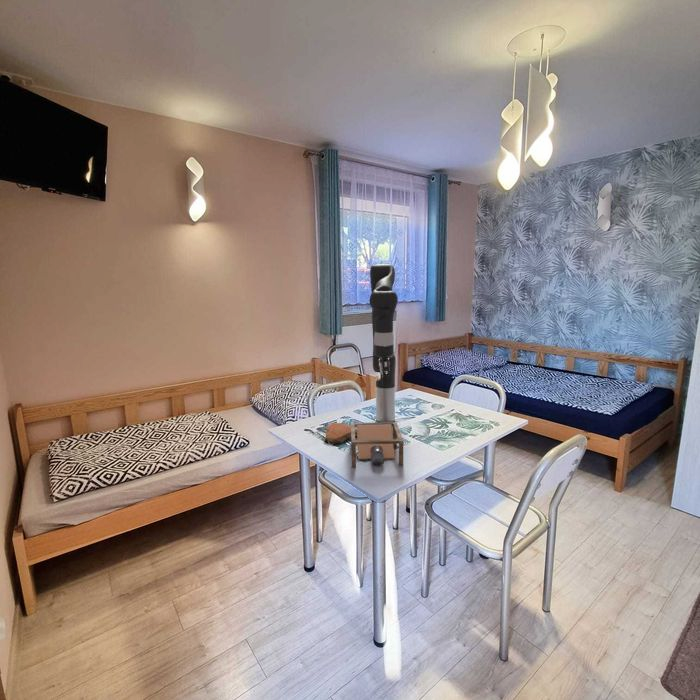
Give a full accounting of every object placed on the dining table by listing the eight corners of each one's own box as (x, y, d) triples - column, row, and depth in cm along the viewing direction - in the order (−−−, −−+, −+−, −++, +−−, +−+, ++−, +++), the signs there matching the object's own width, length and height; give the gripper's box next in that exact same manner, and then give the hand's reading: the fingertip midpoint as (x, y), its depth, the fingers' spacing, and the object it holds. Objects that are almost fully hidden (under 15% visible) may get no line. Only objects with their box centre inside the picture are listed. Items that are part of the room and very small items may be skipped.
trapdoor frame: (351, 445, 161) (350, 423, 159) (396, 444, 161) (396, 422, 159) (352, 467, 142) (351, 442, 140) (403, 466, 142) (403, 440, 141)
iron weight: (370, 445, 146) (371, 456, 141) (383, 445, 146) (384, 455, 141) (370, 455, 148) (371, 466, 143) (382, 454, 148) (384, 466, 143)
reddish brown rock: (313, 426, 170) (337, 421, 181) (313, 440, 170) (337, 435, 181) (337, 429, 160) (360, 424, 171) (337, 445, 160) (361, 439, 171)
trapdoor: (356, 425, 157) (356, 424, 157) (390, 425, 158) (391, 423, 157) (358, 459, 148) (358, 458, 147) (394, 458, 148) (394, 457, 148)
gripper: (372, 339, 156) (373, 378, 159) (375, 347, 142) (376, 389, 145) (391, 339, 156) (391, 377, 159) (395, 346, 142) (395, 388, 145)
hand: (384, 383), depth 152 cm, fingers open, 8 cm apart
